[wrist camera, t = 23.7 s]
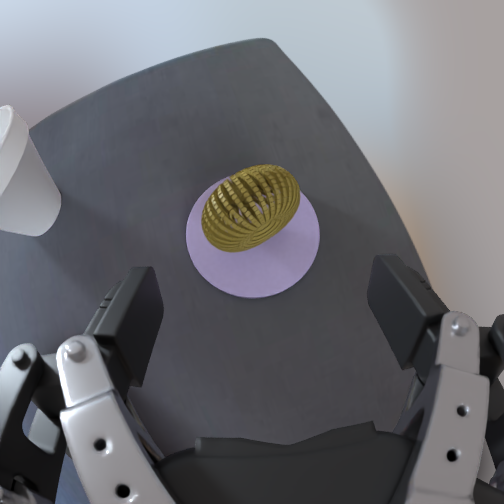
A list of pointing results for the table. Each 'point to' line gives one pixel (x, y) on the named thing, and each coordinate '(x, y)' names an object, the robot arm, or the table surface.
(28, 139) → the cup
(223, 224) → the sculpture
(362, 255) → the table surface
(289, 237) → the saucer
